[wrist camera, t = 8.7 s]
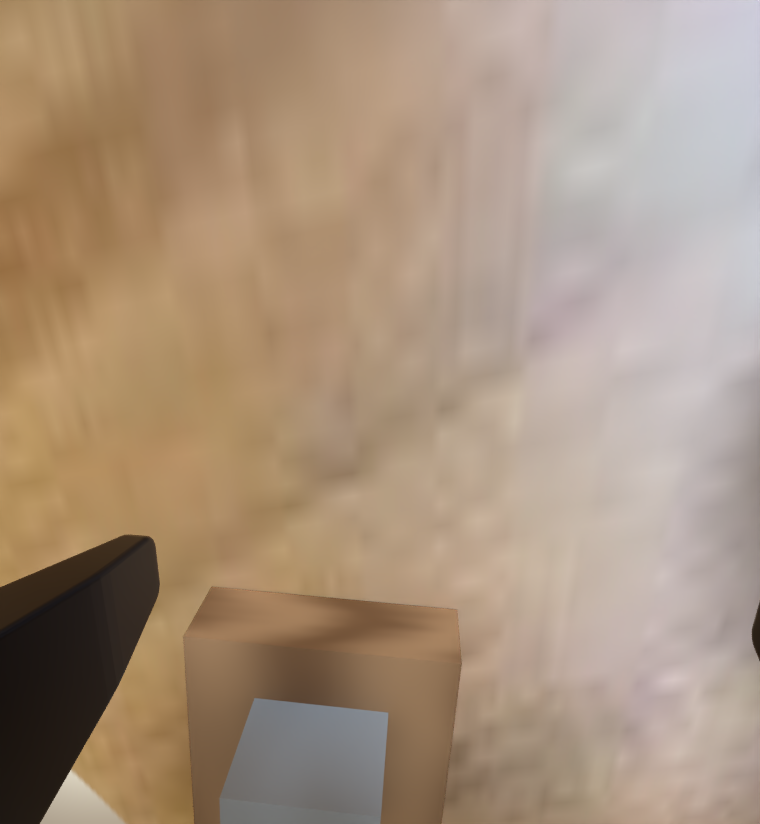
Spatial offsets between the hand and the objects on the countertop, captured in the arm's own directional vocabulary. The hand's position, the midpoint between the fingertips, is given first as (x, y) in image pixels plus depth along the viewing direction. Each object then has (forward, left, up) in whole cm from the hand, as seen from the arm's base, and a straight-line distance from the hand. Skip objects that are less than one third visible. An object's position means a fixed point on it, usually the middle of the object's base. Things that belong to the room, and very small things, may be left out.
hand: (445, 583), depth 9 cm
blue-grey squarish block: (+3, +15, -10) cm, 18 cm away
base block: (+3, +15, -13) cm, 20 cm away
